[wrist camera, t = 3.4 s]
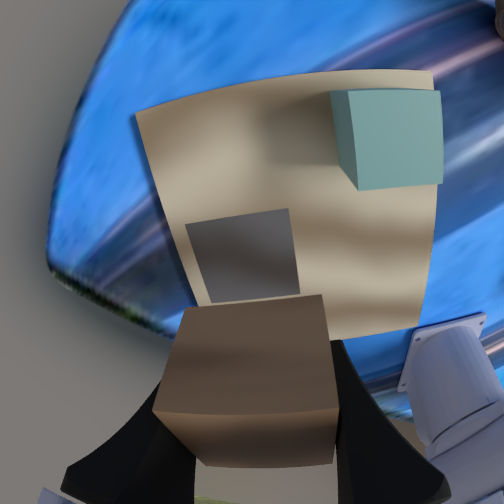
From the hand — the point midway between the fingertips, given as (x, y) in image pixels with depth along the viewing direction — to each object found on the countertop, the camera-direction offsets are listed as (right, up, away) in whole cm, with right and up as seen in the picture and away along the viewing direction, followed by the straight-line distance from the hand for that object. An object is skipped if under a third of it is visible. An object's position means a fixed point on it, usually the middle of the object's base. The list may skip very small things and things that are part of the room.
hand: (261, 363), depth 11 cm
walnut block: (0, 0, +1) cm, 1 cm away
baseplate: (+3, +6, +6) cm, 9 cm away
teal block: (+6, +11, +2) cm, 12 cm away
